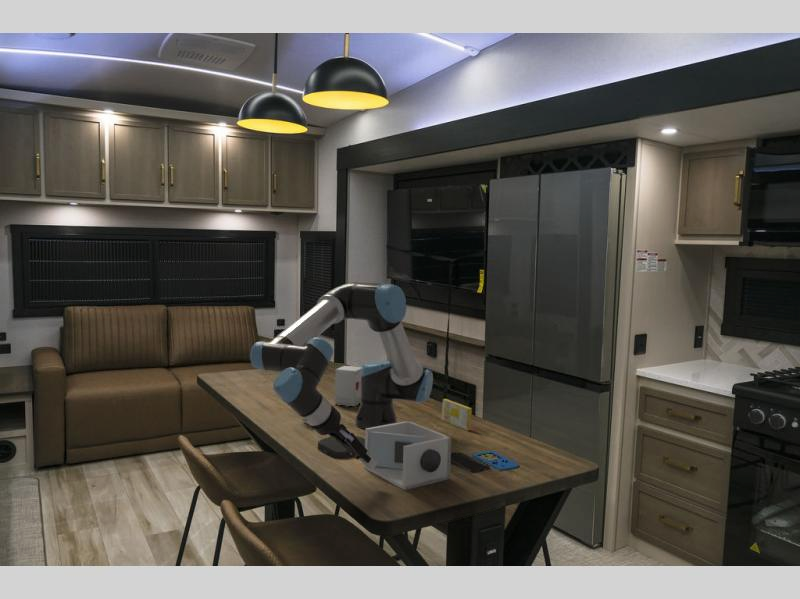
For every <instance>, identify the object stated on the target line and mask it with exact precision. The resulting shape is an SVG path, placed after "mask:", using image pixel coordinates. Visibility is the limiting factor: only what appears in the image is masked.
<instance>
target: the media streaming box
mask: <svg viewBox="0 0 800 599" xmlns="http://www.w3.org/2000/svg"><path fill="white" fill-rule="evenodd" d="M355 437H356V438H357V439H358V440H359V441H360V443H361V444H362V445H363V446H364V447H365V438H364V437H361V436H358V435H355ZM317 450H319V451H320V450H321V451H320V452H322V453H324V454H326V455H328V456H330V457H332V458H334V459H335V458H336V459H346V458H352V457H356V454H355V455H353V454H352V453H351V452H348V451H347V450H346V449H345V448H344V447H343V446H342V445H341V444H340V443H339V442H337V441H336V440H335V439H334V438H333V437H331V436H328V437H325V438H321V439H320V440H318V442H317Z"/></svg>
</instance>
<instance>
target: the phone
mask: <svg viewBox="0 0 800 599" xmlns="http://www.w3.org/2000/svg"><path fill="white" fill-rule="evenodd" d="M450 465H453V466H455V467H458V468H459V467H460V469H462V470H464V471H466V472H468V471H469V472H468V473H471V472H472V474H473V473H474V472H475V473H479V472H482V471H486V470H490V467H491V466H490V465H488V464H486V463H484V462H482V461H480V460H478V459H477V458H475V457H473V456H469V455H468V454H467V455H466V454H465V453H462V452H460V451H459V452H451V463H450ZM485 469H486V470H485ZM481 470H482V471H481ZM478 471H479V472H478Z"/></svg>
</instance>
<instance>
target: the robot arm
mask: <svg viewBox="0 0 800 599" xmlns="http://www.w3.org/2000/svg"><path fill="white" fill-rule="evenodd" d="M406 302H407V299H406V295H405V293H404V291H403V289H402V288H401V287H399V286H398V285H395V284H390V283H386V282H384V283H377V282H375V283H374V282H373V283H372V282H371V283H370V282H358V281H357V282H355V281H354V282H347V283H344V284H341V285H339V286H337V287H334V288H333V289H331V290H329V291H328V292H326V293H324V294H322V295H321V297H319V298H318V300H317V302H316V305H314V306H313V307H312V308H311V309H309V310H308V311H307V312H306V313H304V314H303V315H302V316H300V317H299V318H298V319H296V320H295V321H293V322H292V323H291V324H290V325H288V327H287V328H285V329H284V330H283V331H281V332H280V333H278V335H276V336H275V337H274V338H272V339H271V340H270V341H267V340H263V341H260V340H259V341H257V342H255V343H254V344H253V345H252V346H251V348H250V352H249V359H250V364H251V365H252V367H254V368H255V369H258V370H263V371H266V372H267V371H270V372H278V373H279V374H278V375H277V376H276V377H275V378H274V381H273V391H274V392H275V393H276V395H277V396H279V397H280V399H281V400H282V401H283V402H284V403H286V404H287V405H288V406H289V407H290V408H291V409H292V410H293V411H294V412H295V413H296V414H298V415H299V416H300V417H301V418H302V420H301V421H302V423H304V424H308V425H310V426H311V428H312V429H313V430H314V431H315V432H316V433H317V434H318V435H321V436H328V437H333V438H334V439H335V440H336V441H337V442H339V443H340V444H341V445H342V446H343V447H344V448H345V449H346V450H347V451H348V452H351V453H352V454H353V455H355V454H356V456H355V459H356V460H357V461H360V462H361V464H363V465H364V467H365V466H366V467H367V468H368V469H369V470H371V471H373V469H374V468H375V466H376V465H377V464H378V463H377V462H376V461H375V460H374V459H373V458H372V457H371V456H370V455H369V454H368V453H367V451H368V450H367V449H366V448H365V447H364V446H363V445H362V444H361V443H360V441H359V440H358V439H357V438H356V437H355V436H356V435H355V433H353V432H350V431H349V429H348V428H347V427H346V426H345V425H344V424H343V423H341V419H342V415H341V413H340V411H339V410H338V409H336V407H335V406H334V405H332V404H331V402H330V401H329V400H328V399H327V398H326V397H325V396H324V395H323V394H322V393H321V392H320V391H319V390H318V389H317V387H318V385H319V384H320V382H321V379H322V378H323V376H324V374H325V373H326V370H327V369H328V366H329V365H330V362H331V360H332V357H333V355H334V348H333V347H332V345H331V343H330V342H328V341H327V340H325V339H323V338H320V337H319V336H320V335H322V334H323V333H324V332H325V331H326V330H327V329H328V328H329V327H330V326H332V325H336V324H338V323H340V322H342V321H343V320H349V319H350V320H351V319H352V320H361V321H366V322H367V324H368V326H369V328H370V330H371V331H373V332H376V335H377V336H378V338H379V341H380V343H381V346H382V348H383V350H384V352H385V355H386V357H387V360H377V361H372V362H366V363H364V364H363V365H362V373H361V403H360V404H359V408H358V410H357V414H356V417H355V425H357V426H356V427H358V428H361V429H364V430H365V428H371V427H377V426H382V425H388V424H393V423H398V419H397V414H396V411H395V409H394V404H393V403H394V402H393V400H400V401H407V402H412V403H425V402H427V401H428V400H429V398H430V395H431V393H432V388H433V383H434V375H433V374H434V373H433V371H432V370H430V369H424V366H423V365H422V362H420V361H419V359H416V357H415V356H414V355H415V354H414V352H413V350H412V347H411V344H410V342H409V339H408V336H407V334H406V330H405V328H404V325H403V323H402V321H403V320H404V319H405V316H406V313H407V304H406ZM320 393H321V394H320ZM303 418H304V419H303ZM305 422H307V423H305ZM369 470H368V471H369Z"/></svg>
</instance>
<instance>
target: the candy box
mask: <svg viewBox="0 0 800 599" xmlns="http://www.w3.org/2000/svg"><path fill="white" fill-rule="evenodd" d="M472 410H473V408H472V407H469V406H466V405H464V404H461V403H459V402H455V401H453V400H450V399H447V398H443V399H442V409H441V421H444V422H445V421H446V422H445V423H448V424H451V425H452V426H454V425H455V426H454V427H457V428H459V429H462V430H463V431H466V432H469V430H470V431H471V427H472V413H473V411H472Z"/></svg>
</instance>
